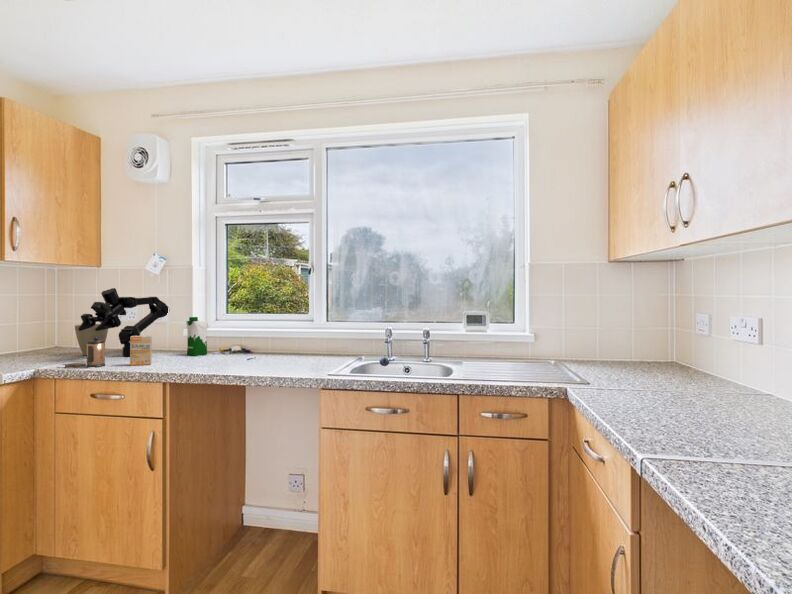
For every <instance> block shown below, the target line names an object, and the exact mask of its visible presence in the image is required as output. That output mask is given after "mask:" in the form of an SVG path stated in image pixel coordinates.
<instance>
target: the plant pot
mask: <svg viewBox="0 0 792 594" xmlns="http://www.w3.org/2000/svg"><path fill="white" fill-rule="evenodd" d="M100 324H101V323H96V324H95V325H94V326H92V327H91V328H88V329H85V330H81V331H79V330H78V329H79V327H80V325H81V324H75V325H74V331H75V335H76V340H77V343H78V345H79V347H80V351H81V353H82V355H83V356H84V355H87V341H95V340H94V339H93V338H94V337H96V336H97V337H98V340H97V341H99V340H103V341H105V342H106V340H107V337H108V332H109V329H104V330H100V331H96V330H95V329H96V328H97V327H98V326H99V325H100Z"/></svg>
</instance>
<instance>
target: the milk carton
mask: <svg viewBox="0 0 792 594" xmlns="http://www.w3.org/2000/svg"><path fill="white" fill-rule="evenodd" d="M185 323H186V329H187V330H186V331H187V346H186V347H187V348H186V349H187V352H186V356H188V355H190V357H199V356H198V355H202V356H207V355H208V343H207V342H208V339H207V338H208V331H207V330H208V323H209V321H208V320H198V317H197V316H189V319H188V320H186V321H185ZM206 354H207V355H206Z"/></svg>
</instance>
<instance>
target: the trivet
mask: <svg viewBox="0 0 792 594" xmlns="http://www.w3.org/2000/svg"><path fill="white" fill-rule="evenodd" d="M62 365H65V367H74V368H80V367H79V366H82V367H85V365H86V366H87V363H85V362H80V363H79V362H75V363H74V362H73V363H65V364H64V363H63V364H62Z"/></svg>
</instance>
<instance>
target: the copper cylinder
mask: <svg viewBox="0 0 792 594" xmlns="http://www.w3.org/2000/svg"><path fill="white" fill-rule="evenodd" d="M93 339H94V340H95V341H87V356H86V368H88V367H95V368H102V366H103V367H106V341H103V340H99V341H97V340H98V337H97V336H96V337H94V338H93Z"/></svg>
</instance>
